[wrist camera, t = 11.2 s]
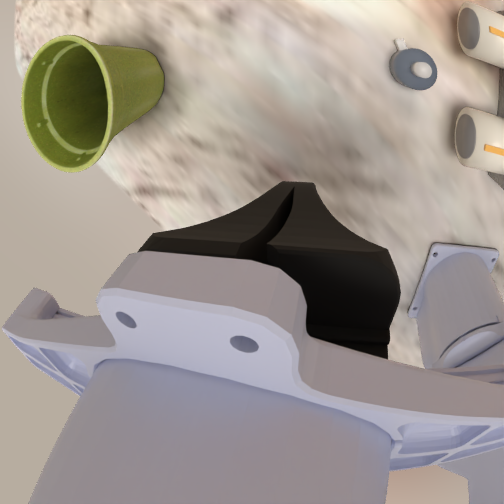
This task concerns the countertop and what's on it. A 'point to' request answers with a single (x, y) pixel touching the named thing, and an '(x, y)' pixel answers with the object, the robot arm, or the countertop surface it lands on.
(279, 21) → the countertop surface
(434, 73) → the potentiometer
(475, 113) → the knob
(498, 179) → the panel
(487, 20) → the knob
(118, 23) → the countertop surface
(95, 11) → the countertop surface
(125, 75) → the plant pot
